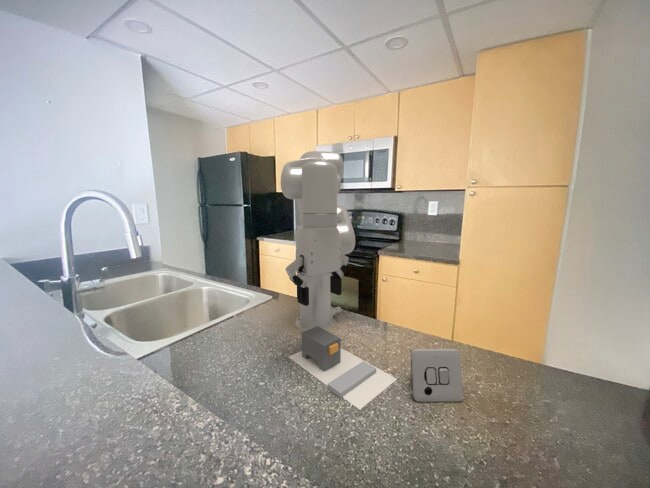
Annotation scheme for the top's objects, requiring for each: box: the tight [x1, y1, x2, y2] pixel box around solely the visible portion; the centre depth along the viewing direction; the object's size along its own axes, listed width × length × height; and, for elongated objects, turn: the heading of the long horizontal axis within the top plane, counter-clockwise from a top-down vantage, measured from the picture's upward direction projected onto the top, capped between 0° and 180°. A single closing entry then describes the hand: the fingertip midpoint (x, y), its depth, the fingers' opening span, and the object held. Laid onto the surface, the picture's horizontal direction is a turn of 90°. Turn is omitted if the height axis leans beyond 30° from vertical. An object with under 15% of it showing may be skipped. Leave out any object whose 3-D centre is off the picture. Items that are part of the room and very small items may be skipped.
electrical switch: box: [409, 348, 464, 403], centre depth 51 cm, size 9×5×9 cm, turn 90°
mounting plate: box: [288, 347, 398, 410], centre depth 58 cm, size 12×22×2 cm, turn 42°
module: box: [300, 326, 342, 372], centre depth 60 cm, size 5×9×6 cm, turn 42°
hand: (320, 298), depth 58 cm, fingers open, 9 cm apart
